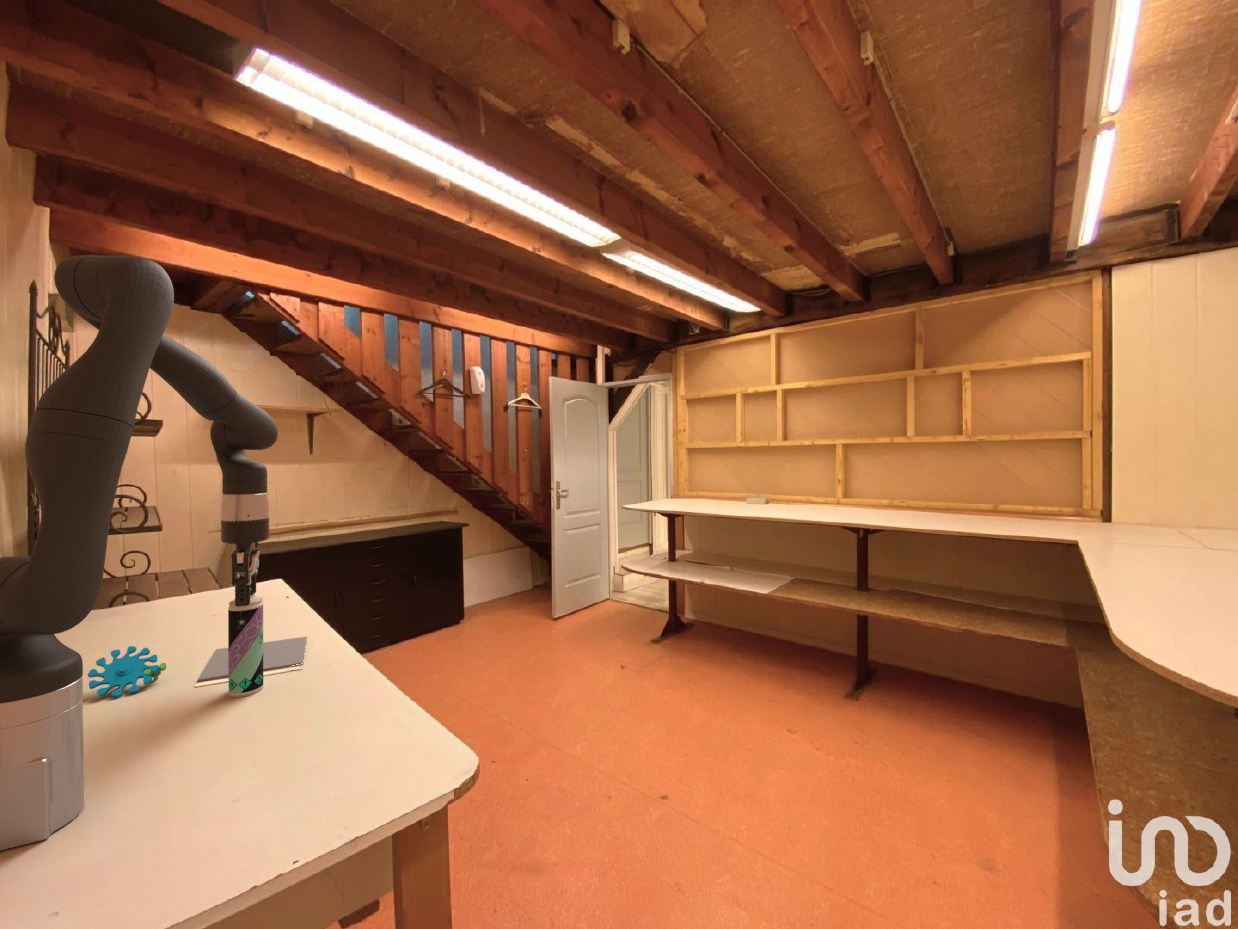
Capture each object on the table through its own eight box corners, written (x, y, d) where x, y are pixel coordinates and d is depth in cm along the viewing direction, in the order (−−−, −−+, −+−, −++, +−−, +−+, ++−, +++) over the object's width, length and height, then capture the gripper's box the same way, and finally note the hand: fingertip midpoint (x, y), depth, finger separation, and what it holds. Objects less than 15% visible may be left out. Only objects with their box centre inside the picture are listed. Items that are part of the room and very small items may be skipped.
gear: (77, 697, 92) (97, 645, 98) (81, 711, 95) (100, 660, 101) (158, 691, 98) (172, 642, 104) (159, 704, 101) (172, 656, 107)
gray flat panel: (302, 669, 108) (302, 667, 108) (194, 687, 100) (194, 685, 100) (306, 638, 127) (306, 636, 126) (215, 651, 118) (215, 649, 118)
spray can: (222, 693, 97) (222, 589, 97) (254, 682, 102) (253, 583, 102) (237, 699, 95) (237, 593, 95) (269, 688, 100) (269, 587, 99)
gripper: (264, 520, 94) (265, 607, 94) (272, 511, 106) (273, 588, 106) (213, 522, 90) (214, 613, 90) (227, 513, 102) (228, 593, 103)
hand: (246, 599), depth 98 cm, fingers open, 8 cm apart
